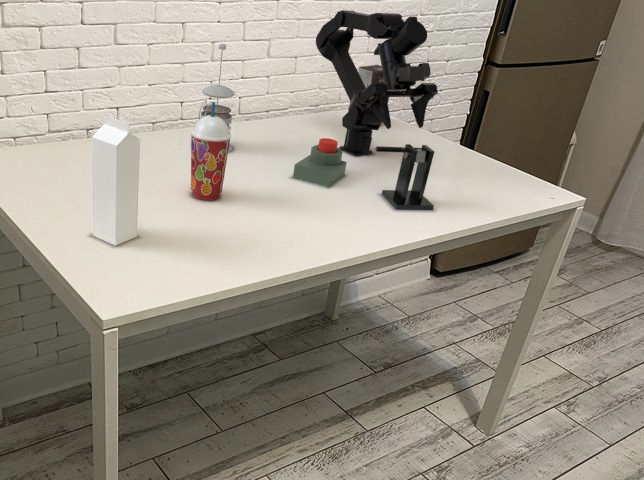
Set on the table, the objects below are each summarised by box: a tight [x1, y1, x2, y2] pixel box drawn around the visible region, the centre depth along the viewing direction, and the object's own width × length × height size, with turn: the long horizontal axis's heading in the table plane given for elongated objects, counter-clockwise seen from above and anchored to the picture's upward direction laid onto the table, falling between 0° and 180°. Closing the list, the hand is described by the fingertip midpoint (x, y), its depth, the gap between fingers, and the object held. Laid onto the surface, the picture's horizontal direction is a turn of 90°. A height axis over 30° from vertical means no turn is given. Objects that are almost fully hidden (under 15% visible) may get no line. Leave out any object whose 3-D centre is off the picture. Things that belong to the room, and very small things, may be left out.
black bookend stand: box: [381, 143, 435, 211], centre depth 165 cm, size 9×9×13 cm
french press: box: [198, 43, 236, 153], centre depth 181 cm, size 10×12×25 cm
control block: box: [292, 144, 347, 188], centre depth 176 cm, size 12×9×6 cm
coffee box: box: [357, 64, 385, 125], centre depth 216 cm, size 9×6×16 cm
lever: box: [375, 146, 426, 163], centre depth 166 cm, size 10×13×2 cm
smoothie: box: [190, 101, 232, 201], centre depth 155 cm, size 8×8×20 cm
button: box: [317, 137, 339, 154], centre depth 176 cm, size 4×4×2 cm
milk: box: [91, 115, 141, 246], centre depth 133 cm, size 6×6×22 cm
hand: (405, 127), depth 176 cm, fingers open, 9 cm apart
